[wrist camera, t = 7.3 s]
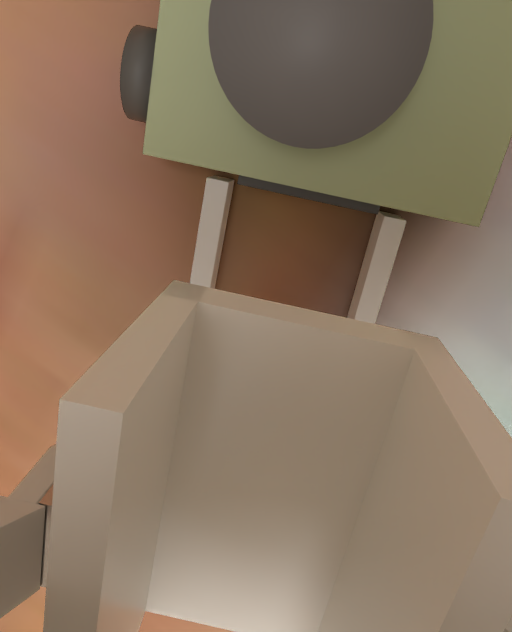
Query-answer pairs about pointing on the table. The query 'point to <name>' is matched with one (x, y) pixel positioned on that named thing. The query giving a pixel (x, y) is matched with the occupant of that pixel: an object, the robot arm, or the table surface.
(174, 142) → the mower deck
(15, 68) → the table surface
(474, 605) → the chute
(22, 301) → the table surface
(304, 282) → the table surface
